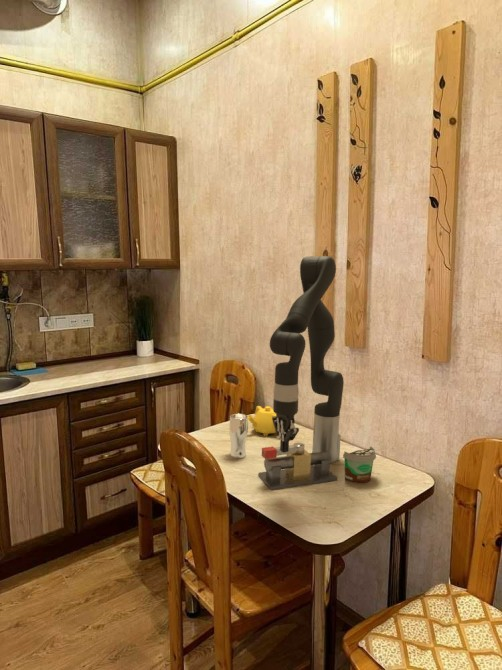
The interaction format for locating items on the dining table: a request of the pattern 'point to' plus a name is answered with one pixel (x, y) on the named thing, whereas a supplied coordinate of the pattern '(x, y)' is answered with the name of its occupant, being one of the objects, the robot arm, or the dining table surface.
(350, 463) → the food container
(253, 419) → the teapot
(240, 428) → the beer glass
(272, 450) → the valve lever
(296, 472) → the valve pipe
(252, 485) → the dining table surface
